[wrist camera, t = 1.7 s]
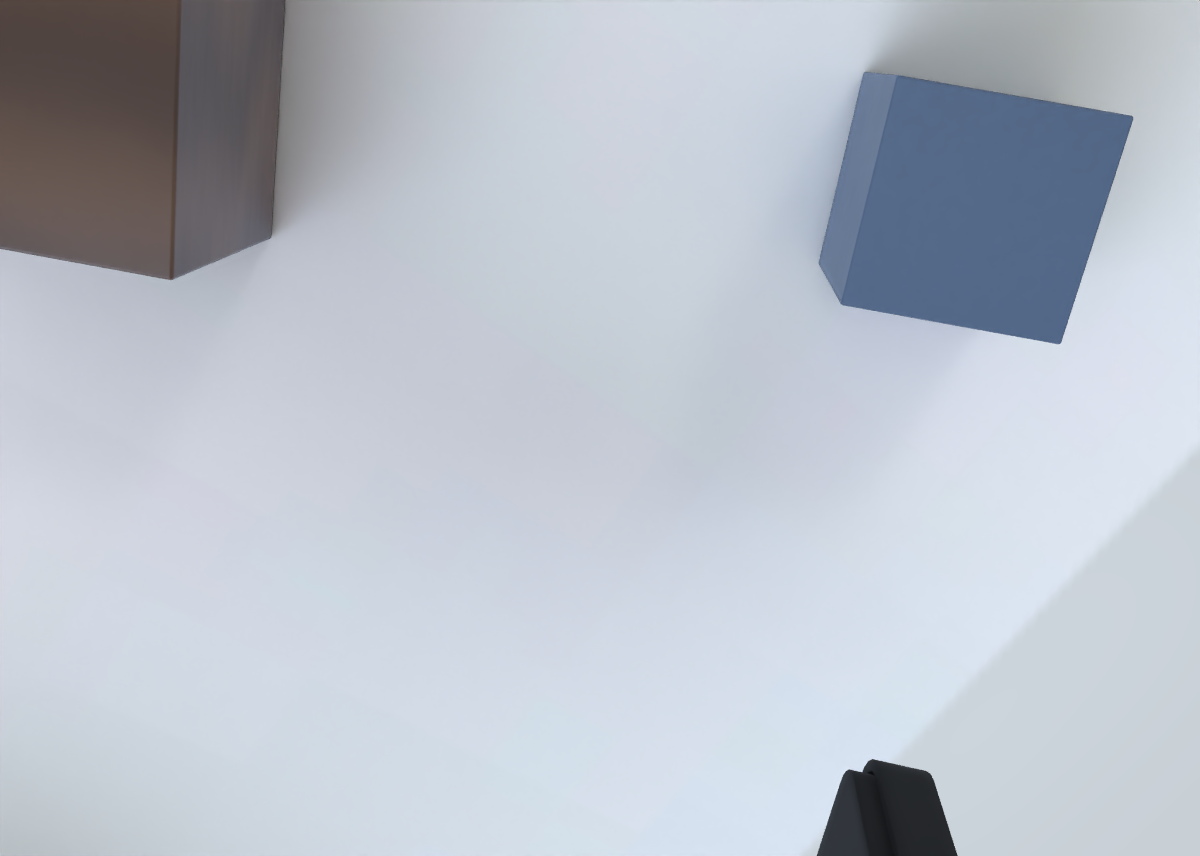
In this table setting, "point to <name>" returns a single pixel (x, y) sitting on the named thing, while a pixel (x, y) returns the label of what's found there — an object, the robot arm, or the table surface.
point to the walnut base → (138, 130)
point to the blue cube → (969, 205)
